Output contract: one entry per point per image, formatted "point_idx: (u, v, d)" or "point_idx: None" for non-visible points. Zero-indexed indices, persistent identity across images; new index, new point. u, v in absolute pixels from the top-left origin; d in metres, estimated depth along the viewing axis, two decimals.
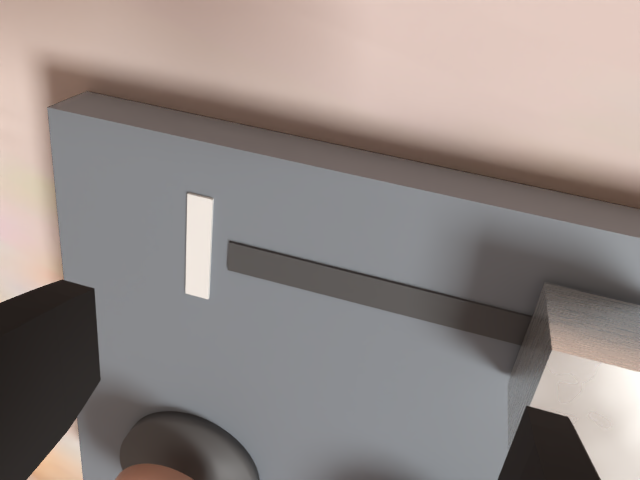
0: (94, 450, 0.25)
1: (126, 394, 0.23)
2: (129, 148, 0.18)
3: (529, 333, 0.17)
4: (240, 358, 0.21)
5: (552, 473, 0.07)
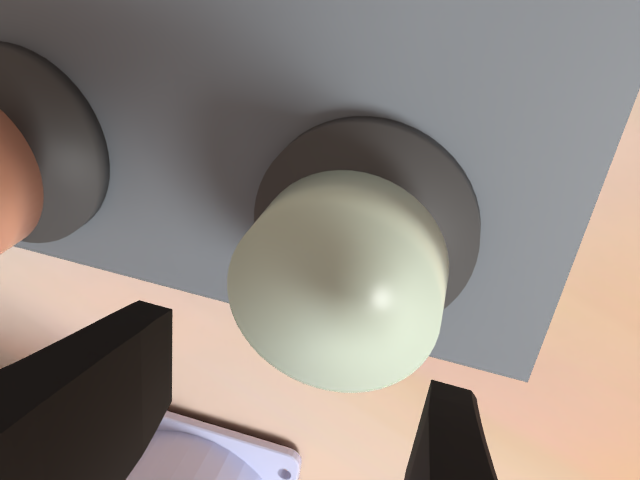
0: None
1: None
2: None
3: None
4: None
5: (437, 440, 0.08)
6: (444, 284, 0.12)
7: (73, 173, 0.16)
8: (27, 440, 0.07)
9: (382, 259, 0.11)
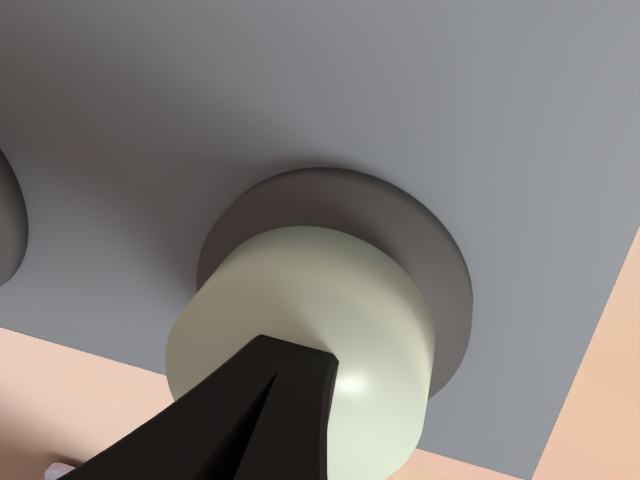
0: None
1: None
2: None
3: None
4: None
5: (277, 394, 0.08)
6: (428, 369, 0.10)
7: None
8: None
9: (350, 344, 0.09)
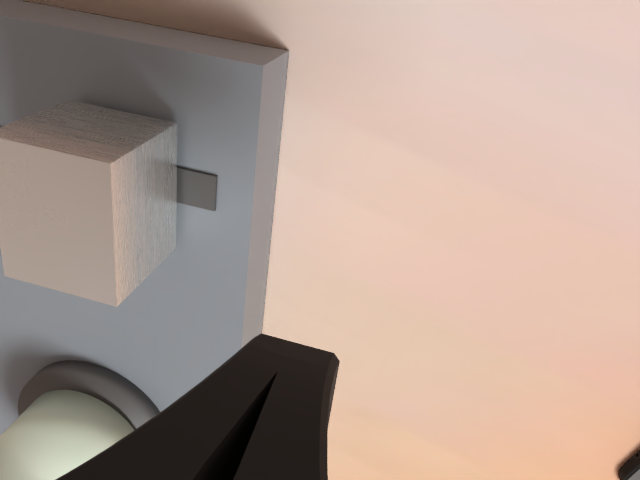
0: None
1: None
2: None
3: None
4: None
5: (278, 394, 0.08)
6: None
7: None
8: None
9: (74, 461, 0.19)
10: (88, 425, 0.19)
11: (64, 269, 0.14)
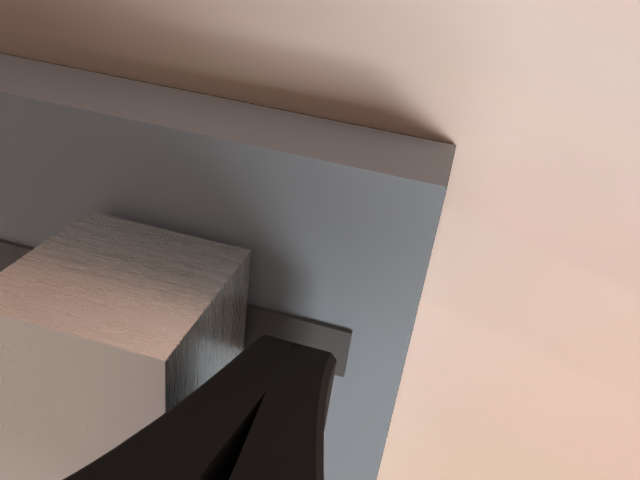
0: None
1: None
2: None
3: None
4: None
5: (274, 393, 0.08)
6: None
7: None
8: None
9: None
10: None
11: None
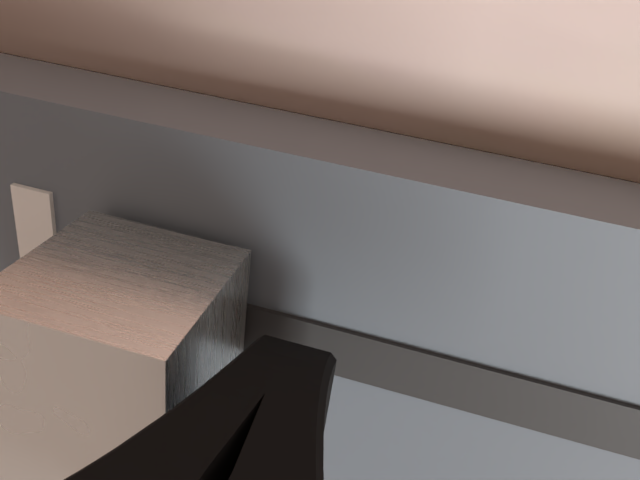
0: None
1: None
2: None
3: None
4: None
5: (274, 393, 0.08)
6: None
7: None
8: None
9: None
10: None
11: None
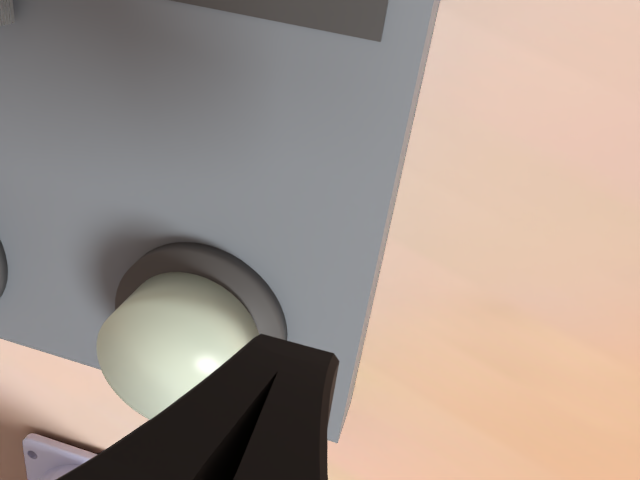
0: None
1: None
2: None
3: None
4: None
5: (277, 394, 0.08)
6: None
7: None
8: None
9: (195, 342, 0.17)
10: (208, 305, 0.17)
11: None
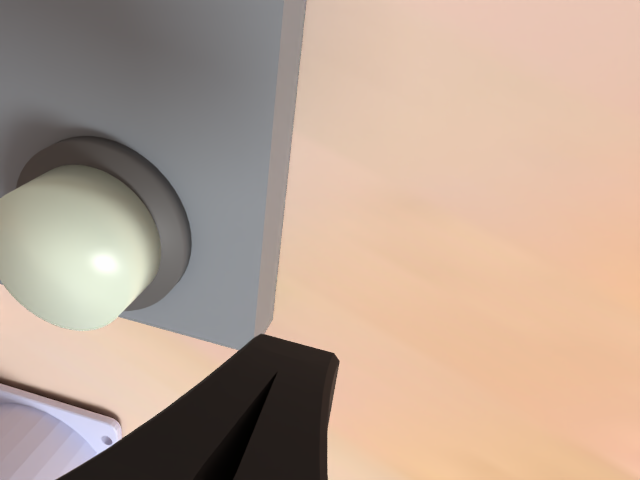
0: None
1: None
2: None
3: None
4: None
5: (277, 394, 0.08)
6: (139, 248, 0.17)
7: None
8: None
9: (80, 228, 0.16)
10: (96, 192, 0.16)
11: None
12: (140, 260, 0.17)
